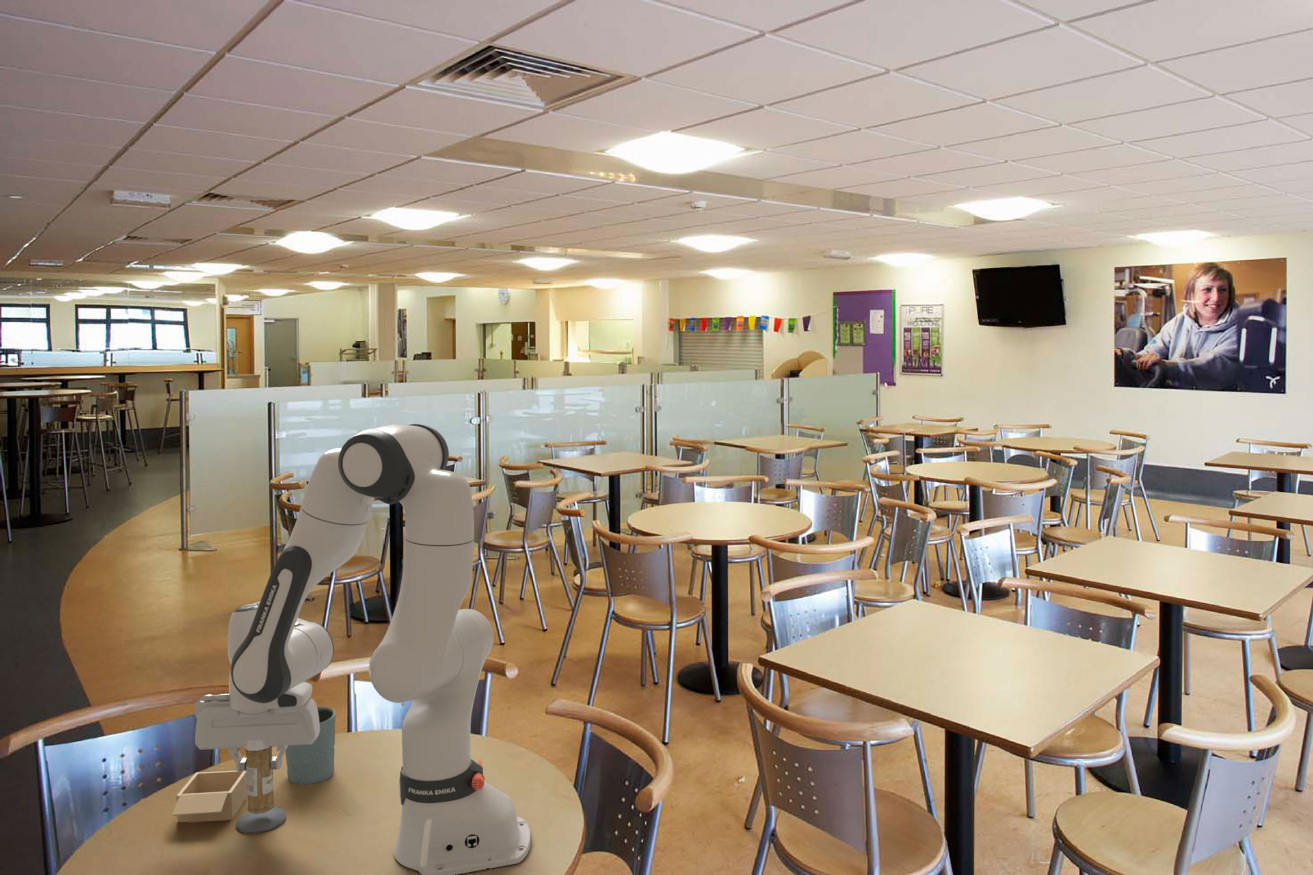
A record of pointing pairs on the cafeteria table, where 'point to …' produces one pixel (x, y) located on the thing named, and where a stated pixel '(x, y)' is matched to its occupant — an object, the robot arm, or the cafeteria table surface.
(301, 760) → the teal cup
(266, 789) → the sprinkles bottle
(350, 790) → the cafeteria table surface
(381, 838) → the cafeteria table surface
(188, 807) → the carton
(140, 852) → the cafeteria table surface
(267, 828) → the coaster
